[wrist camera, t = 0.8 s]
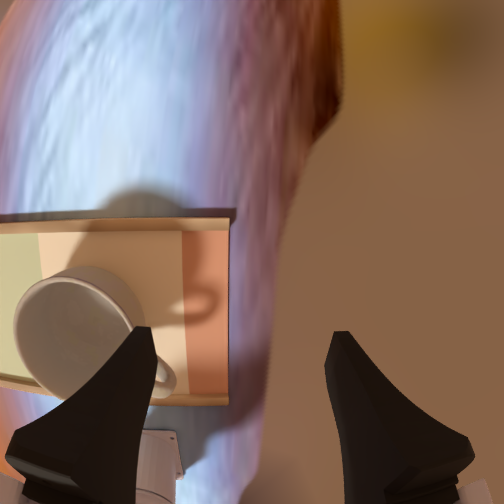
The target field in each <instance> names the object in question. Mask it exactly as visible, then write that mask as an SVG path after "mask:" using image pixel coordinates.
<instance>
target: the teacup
mask: <svg viewBox="0 0 504 504" xmlns="http://www.w3.org/2000/svg"><path fill="white" fill-rule="evenodd" d="M136 326H145V327H146V323H145V317H144V313H143V310H142V307H141V304H140V302H139V300H138V299H137V297H136V295H135V294H134V292H133V291H132V290H131V288H130V287H129V286H128V285H127V284H126V283H125V282H124V281H123V280H121V279H120V278H119V277H117V276H116V275H114V274H112V273H111V272H108V271H106V270H104V269H101V268H97V267H92V266H77V267H72V268H69V269H66V270H63V271H61V272H59V273H56V274H54V275H53V276H51V277H49V278H46V279H44V280H41V281H39V282H37V283H36V284H34V285H33V286H31V287H30V288H29V289H28V290H27V291H26V292H25V294H24V295H23V296H22V298H21V299H20V301H19V303H18V305H17V307H16V309H15V314H14V320H13V334H14V341H15V345H16V349H17V352H18V354H19V356H20V358H21V361H22V363H23V364H24V366H25V368H26V369H27V371H28V372H29V374H30V375H31V376H32V377H33V379H34V380H35V381H36V382H37V383H38V384H39V385H40V386H41V387H42V388H43V389H45V390H46V391H47V392H49V393H50V394H52V395H53V396H55V397H57V398H58V399H60V400H63V401H65V400H67V399H68V398H69V397H70V396H72V395H73V394H74V393H75V392H76V391H78V390H79V389H80V388H81V387H82V386H83V385H84V384H85V383H86V382H87V381H88V380H89V379H90V378H91V377H92V376H93V375H94V374H95V373H96V372H97V371H98V370H99V369H100V368H101V367H102V366H103V365H104V364H105V363H106V361H107V360H108V359H109V358H110V357H111V356H112V354H113V353H114V352H115V351H116V350H117V349H118V347H119V346H120V345H121V344H122V342H123V341H124V340H125V339H126V337H127V336H128V335H129V334H130V332H131V331H132V330H133V329H134V327H136ZM157 358H158V366H157V373H156V375H157V376H158V377H159V378H160V380H161V381H162V382H159V381H157V380H155V385H154V389H153V392H152V396H151V397H153V398H158V399H160V398H166V397H168V396H169V395H171V393H172V392H173V391H174V389H175V387H176V384H177V378H176V375H175V373H174V371H173V370H172V369H171V367H170V366H169V365H168V364H167V363H166V362H165V361H164V360H163V359H162V358H161V357H159V356H158V355H157Z"/></svg>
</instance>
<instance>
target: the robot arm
mask: <svg viewBox="0 0 504 504" xmlns="http://www.w3.org/2000/svg"><path fill="white" fill-rule="evenodd" d="M157 366H158V358H157V354H156V350H155V345H154V340H153V336H152V331H151V327H145V326H136V327H134V329H133V330H132V331H131V332H130V334H129V335H128V336H127V337H126V339H125V340H124V341H123V342H122V344H121V345H120V346H119V347H118V349H117V350H116V351H115V352H114V353H113V354H112V356H111V357H110V358H109V359H108V360H107V361H106V363H105V364H104V365H103V366H102V367H101V368H100V369H99V370H98V371H97V372H96V373H95V374H94V375H93V376H92V377H91V378H90V379H89V380H88V381H87V382H86V383H85V384H84V385H83V386H82V387H81V388H80V389H79V390H78V391H76V392H75V393H74V394H73V395H72V396H70V397H69V398H68V399H67V400H65V401H64V402H63V403H61V404H60V405H59V406H57V407H56V408H54V409H53V410H51V411H50V412H48V413H47V414H45V415H44V416H42V417H40V418H39V419H37V420H35V421H33V422H31V423H29V424H27V425H25V426H23V427H21V428H19V429H17V430H15V432H14V434H13V436H12V438H11V441H10V443H9V446H8V449H7V451H6V454H5V459H6V461H7V462H8V463H9V464H10V465H11V466H12V467H13V468H14V469H15V470H17V471H18V472H19V473H20V474H21V475H23V476H24V477H25V478H26V481H25V484H23V483H22V482H20V481H18V480H16V479H14V478H12V477H10V476H7V475H5V474H3V473H1V472H0V504H175V496H176V480H182V479H183V478H184V476H183V471H182V465H181V460H180V454H179V448H178V442H177V436H176V433H175V432H174V431H162V430H143V426H144V422H145V418H146V414H147V411H148V407H149V403H150V400H151V396H152V392H153V389H154V385H155V379H156V373H157ZM324 367H325V375H326V383H327V389H328V393H329V397H330V401H331V405H332V409H333V413H334V417H335V421H336V425H337V429H338V433H339V438H340V445H341V453H342V462H343V474H344V494H345V504H493V501H492V498H491V496H490V492H489V490H488V487H487V484H486V481H485V479H484V478H482V479H480V480H477V481H475V482H473V483H471V484H468V485H466V486H463V487H461V488H460V489H458V490H457V488H456V485H455V484H457V483H458V478H457V474H459V473H460V472H461V471H462V470H464V469H465V468H466V467H467V466H468V465H469V464H470V463H471V462H472V461H473V460H474V458H475V454H474V451H473V449H472V446H471V443H470V441H469V440H468V437H466V436H464V435H462V434H460V433H458V432H456V431H454V430H452V429H450V428H448V427H446V426H445V425H443V424H442V423H440V422H438V421H437V420H435V419H434V418H432V417H431V416H429V415H428V414H427V413H425V412H424V411H423V410H421V409H420V408H418V407H417V406H416V405H415V404H413V403H412V402H411V401H410V400H409V399H408V398H407V397H405V396H404V395H403V394H402V393H401V392H399V390H398V389H397V388H396V387H395V386H394V385H393V384H392V383H391V382H390V381H389V380H388V379H387V378H386V377H385V376H384V374H383V373H382V372H381V371H380V370H379V369H378V367H377V366H376V365H375V364H374V363H373V362H372V360H371V359H370V358H369V357H368V355H367V354H366V353H365V352H364V350H363V349H362V348H361V347H360V345H359V344H358V343H357V341H356V340H355V339H354V338H353V336H352V335H351V334H350V332H349V331H336V332H335V331H334V333H333V337H332V340H331V344H330V348H329V351H328V355H327V358H326V361H325V365H324ZM171 437H173V438H171ZM178 472H179V473H178Z"/></svg>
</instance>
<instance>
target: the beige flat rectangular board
mask: <svg viewBox="0 0 504 504" xmlns="http://www.w3.org/2000/svg"><path fill="white" fill-rule="evenodd" d="M228 231H229V217H150V218H100V219H68V220H43V221H22V222H3V223H0V386H1V387H6V388H10V389H15V390H20V391H25V392H31V393H36V394H42V395H48V396H53V395H52V394H50V393H49V392H47V391H46V390H45V389H43V388H42V387H41V386H40V385H39V384H38V383H37V382H36V381H35V380H34V379H33V377H32V376H31V375H30V374H29V372H28V371H27V369H26V368H25V366H24V364H23V363H22V361H21V358H20V356H19V354H18V352H17V349H16V345H15V341H14V334H13V320H14V314H15V309H16V307H17V305H18V303H19V301H20V299H21V298H22V296H23V295H24V294H25V292H26V291H27V290H28V289H29V288H30V287H31V286H33V285H34V284H36V283H37V282H39V281H41V280H44V279H46V278H49V277H51V276H53V275H54V274H56V273H59V272H61V271H63V270H66V269H69V268H72V267H77V266H92V267H97V268H101V269H104V270H106V271H108V272H111V273H112V274H114V275H116V276H117V277H119V278H120V279H121V280H123V281H124V282H125V283H126V284H127V285H128V286H129V287H130V288H131V290H132V291H133V292H134V294H135V295H136V297H137V299H138V300H139V302H140V304H141V307H142V310H143V313H144V317H145V323H146V327H151V331H152V336H153V340H154V345H155V350H156V354H157V355H158V356H159V357H161V358H162V359H163V360H164V361H165V362H166V363H167V364H168V365H169V366H170V367H171V369H172V370H173V371H174V373H175V375H176V378H177V384H176V387H175V389H174V391H173V392H172V393H171V395H169V396H168V397H166V398H160V399H158V398H153V397H151V400H150V403H149V405H156V406H218V405H229V396H228ZM155 380H157V381H159V382H162V381H161V380H160V378H159V377H158V376H157V375H156V379H155Z"/></svg>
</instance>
